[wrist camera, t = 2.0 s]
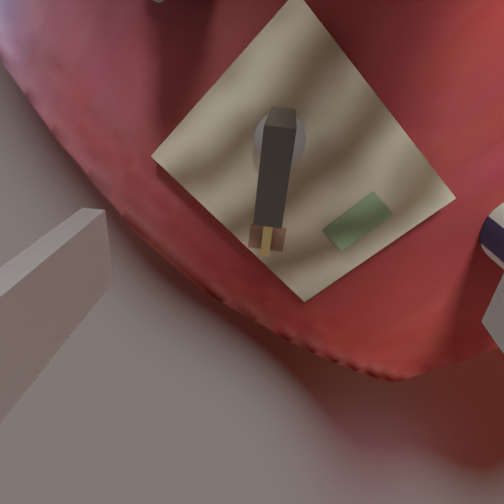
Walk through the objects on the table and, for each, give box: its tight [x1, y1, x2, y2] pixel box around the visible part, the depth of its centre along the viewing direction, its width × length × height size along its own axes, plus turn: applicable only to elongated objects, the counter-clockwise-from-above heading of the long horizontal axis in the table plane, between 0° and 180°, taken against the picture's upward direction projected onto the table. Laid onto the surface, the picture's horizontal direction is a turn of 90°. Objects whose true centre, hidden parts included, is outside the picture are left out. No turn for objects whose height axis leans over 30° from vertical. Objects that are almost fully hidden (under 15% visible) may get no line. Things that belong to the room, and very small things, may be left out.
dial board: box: [151, 0, 456, 302], centre depth 35 cm, size 22×18×2 cm
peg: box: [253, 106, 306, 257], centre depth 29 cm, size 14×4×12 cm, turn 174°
